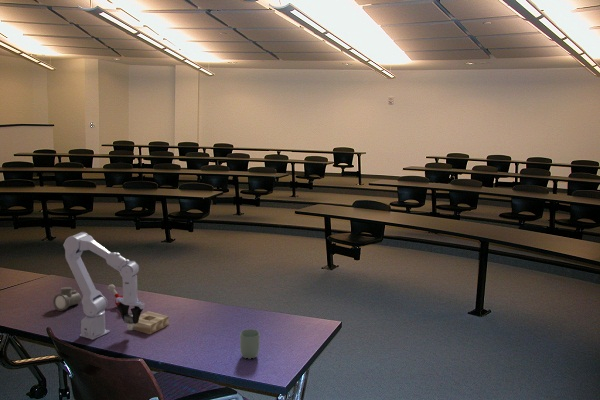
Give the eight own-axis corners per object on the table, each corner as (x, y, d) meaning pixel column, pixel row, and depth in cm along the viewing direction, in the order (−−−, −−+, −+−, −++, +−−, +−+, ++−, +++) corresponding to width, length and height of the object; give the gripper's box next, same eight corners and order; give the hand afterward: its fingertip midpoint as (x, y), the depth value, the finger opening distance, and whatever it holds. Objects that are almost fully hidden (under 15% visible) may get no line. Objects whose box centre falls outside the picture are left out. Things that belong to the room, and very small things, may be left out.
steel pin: (130, 332, 221) (130, 318, 220) (121, 329, 224) (121, 316, 223) (140, 328, 226) (139, 314, 225) (130, 325, 228) (130, 312, 228)
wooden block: (150, 334, 229) (149, 325, 228) (129, 328, 234) (129, 319, 233) (168, 324, 239) (168, 316, 238) (148, 319, 244) (148, 311, 244)
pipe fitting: (65, 311, 249) (65, 290, 249) (52, 310, 252) (52, 289, 252) (84, 306, 260) (84, 285, 260) (71, 305, 263) (71, 284, 263)
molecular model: (138, 308, 257) (138, 288, 255) (130, 312, 252) (129, 292, 250) (112, 301, 265) (112, 282, 263) (103, 305, 260) (103, 285, 259)
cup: (259, 352, 215) (260, 329, 213) (258, 361, 207) (259, 337, 205) (240, 352, 215) (240, 328, 213) (238, 361, 207) (239, 337, 205)
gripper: (150, 291, 222) (150, 321, 225) (124, 285, 229) (124, 314, 231) (137, 296, 216) (138, 327, 218) (111, 289, 223) (112, 320, 225)
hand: (130, 321), depth 224 cm, fingers closed on steel pin, 5 cm apart
